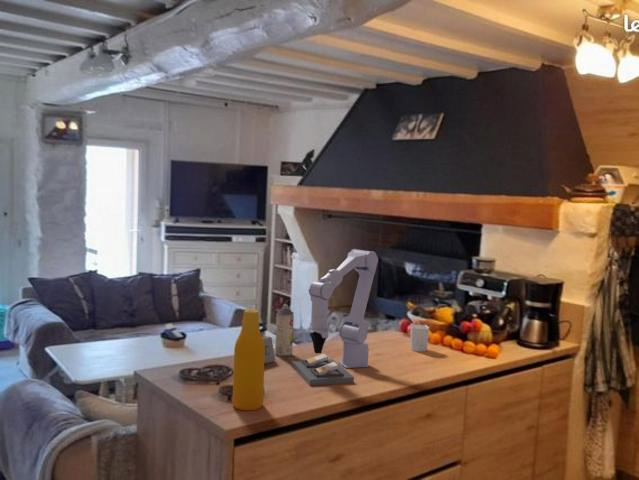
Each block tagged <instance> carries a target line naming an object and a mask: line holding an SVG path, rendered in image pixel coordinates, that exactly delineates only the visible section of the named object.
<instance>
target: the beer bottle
mask: <svg viewBox="0 0 639 480" xmlns="http://www.w3.org/2000/svg"><path fill="white" fill-rule="evenodd" d="M259 319H260V318H259V310H257V309H245V310H243V317H242V325H241V329H240V333H239V335H238V337H237V338H236V340H235V344H234V349H233V353H234V354H233V377H232V378H233V380H232V381H233V382H232V401H231V402H232V405H233V407H234V408H235V409H236V410H240V411H255V410H259V409H260V408H262V407H263V404H264V381H265V364H264V361H265V344H264V341H263V338H264V337H263V335H262V333H261V330H260V329H261V328H260V320H259Z"/></svg>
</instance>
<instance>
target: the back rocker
mask: <svg viewBox="0 0 639 480" xmlns="http://www.w3.org/2000/svg"><path fill="white" fill-rule="evenodd" d="M328 359H329V357H328V356H327V355H326V353H320V354H319V355H316V356H313V357H310V358H308V359H306V360H307V363H308V364H309V365H314V364H317V363H318V361H321V362H323V361H326V360H328Z"/></svg>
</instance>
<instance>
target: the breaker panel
mask: <svg viewBox="0 0 639 480" xmlns="http://www.w3.org/2000/svg"><path fill="white" fill-rule="evenodd" d="M332 362H335V363H336V364H337V365H338V369H335V370H333V371H328V373H325V374H321V375H319V374H318V373H317V371H316V369H317V368H319V367H322V366H324V365H327V364H329V363H332ZM291 367H292V368H293V369H294V370H295V372H297V374H298V375H299V376H300V377H301V378H302V379H303V380H304V381H305V383H307V384H308V386H326V385H339V384H354V383H355V382H354V381H355V376H353V375H352V374H351V373H350V372H348V371H347V370H346V368H345V367H344V366H343V367H342V365H341V364H340V363H339V362H338V361H335V360H334V359H332V358H331V359H330V358H328V360H326V361H323V362H321V361H318V363H317V364H314V365H309V364H308V363H307V359H301V360H292V361H291Z"/></svg>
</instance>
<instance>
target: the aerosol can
mask: <svg viewBox="0 0 639 480" xmlns="http://www.w3.org/2000/svg"><path fill="white" fill-rule="evenodd" d="M294 316H295V314H294V311H292V310H291V309H290V307H289V305H288V304H283V306H282V307H281V308H280V309H279V311H276V323H275V324H276V325H275V347H274V355H275V357H276V356H277V357H281V358H282V357H283V358H287V357H291V356H292V355H293V341H294V323H295V322H294V320H295V319H294V318H295V317H294Z"/></svg>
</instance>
